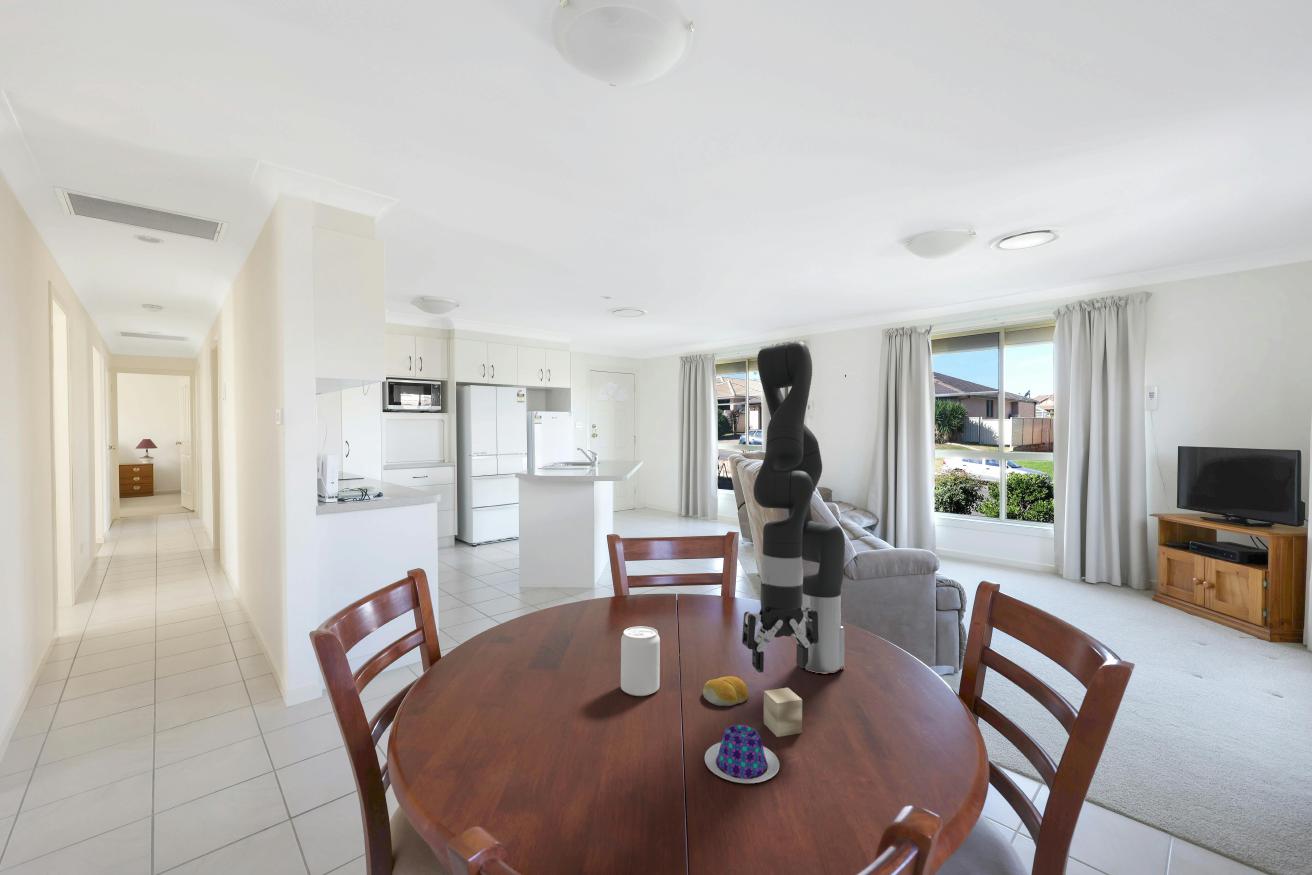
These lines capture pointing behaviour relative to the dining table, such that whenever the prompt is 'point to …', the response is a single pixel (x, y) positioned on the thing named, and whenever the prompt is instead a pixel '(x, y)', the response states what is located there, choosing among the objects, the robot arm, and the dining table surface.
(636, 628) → the beverage can
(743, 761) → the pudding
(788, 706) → the beech block
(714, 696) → the bread roll
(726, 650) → the dining table surface
